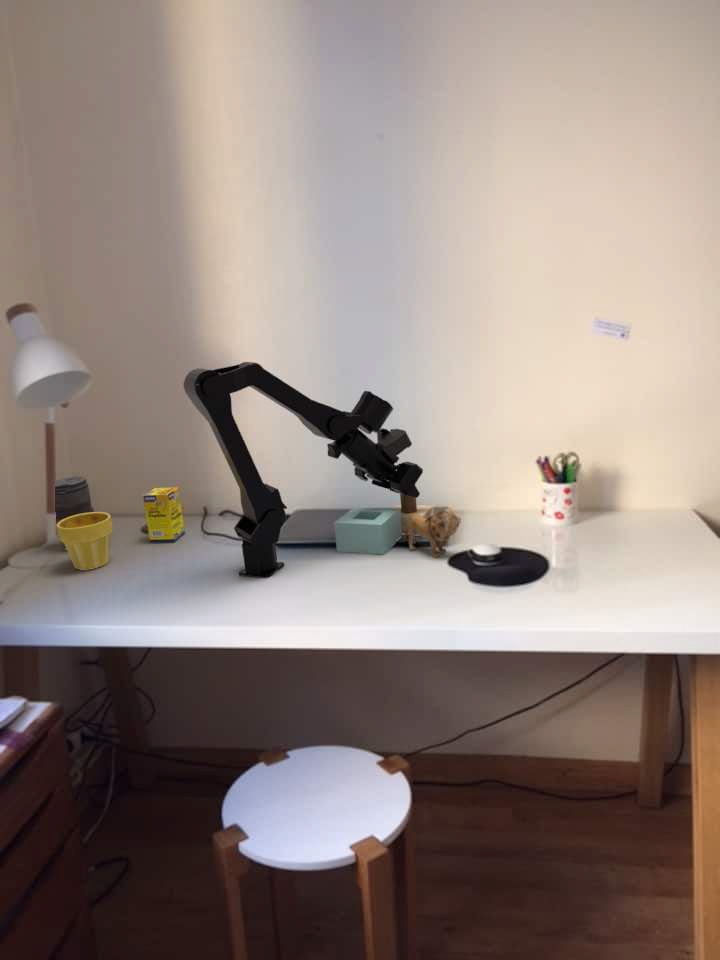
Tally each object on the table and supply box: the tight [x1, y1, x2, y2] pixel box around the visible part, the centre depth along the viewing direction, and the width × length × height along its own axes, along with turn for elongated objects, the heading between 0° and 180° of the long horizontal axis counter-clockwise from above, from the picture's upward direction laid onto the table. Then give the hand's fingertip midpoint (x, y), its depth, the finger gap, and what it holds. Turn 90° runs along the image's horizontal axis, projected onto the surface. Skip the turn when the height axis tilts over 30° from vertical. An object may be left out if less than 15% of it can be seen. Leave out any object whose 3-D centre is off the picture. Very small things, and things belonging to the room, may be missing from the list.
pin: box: [399, 494, 417, 513], centre depth 153 cm, size 3×3×8 cm
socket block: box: [333, 506, 403, 556], centre depth 147 cm, size 10×10×6 cm
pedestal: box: [392, 504, 435, 534], centre depth 154 cm, size 8×8×4 cm
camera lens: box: [54, 476, 95, 548], centre depth 162 cm, size 8×8×15 cm
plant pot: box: [56, 511, 114, 570], centre depth 150 cm, size 10×10×10 cm
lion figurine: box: [398, 508, 462, 559], centre depth 141 cm, size 15×5×9 cm, turn 47°
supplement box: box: [142, 487, 186, 544], centre depth 162 cm, size 6×6×11 cm
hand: (413, 493), depth 154 cm, fingers closed on pin, 3 cm apart
